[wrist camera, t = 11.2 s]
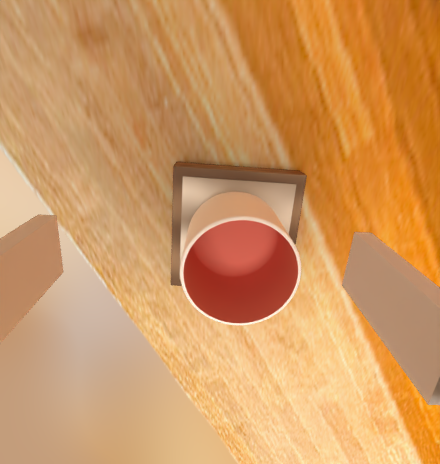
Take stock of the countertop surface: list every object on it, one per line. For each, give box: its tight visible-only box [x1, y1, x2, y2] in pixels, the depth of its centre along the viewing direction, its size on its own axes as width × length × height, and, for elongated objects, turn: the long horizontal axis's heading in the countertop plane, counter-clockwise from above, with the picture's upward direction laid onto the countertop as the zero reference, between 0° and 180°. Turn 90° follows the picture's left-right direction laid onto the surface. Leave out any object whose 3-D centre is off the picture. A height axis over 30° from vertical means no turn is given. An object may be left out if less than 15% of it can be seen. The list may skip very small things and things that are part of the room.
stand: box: [171, 162, 307, 286], centre depth 37 cm, size 14×14×3 cm
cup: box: [180, 192, 301, 325], centre depth 31 cm, size 10×10×10 cm
